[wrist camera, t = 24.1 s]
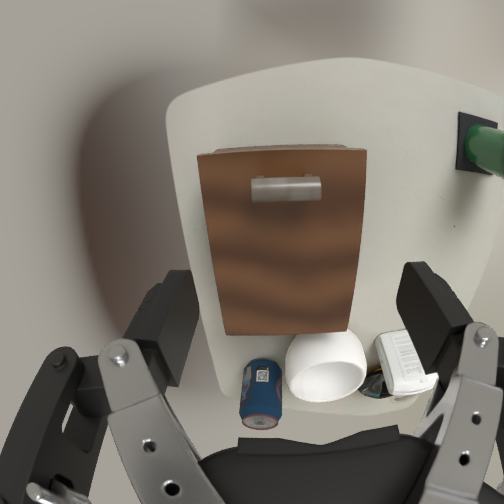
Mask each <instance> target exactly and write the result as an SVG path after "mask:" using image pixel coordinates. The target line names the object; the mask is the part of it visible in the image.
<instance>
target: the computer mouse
mask: <svg viewBox="0 0 504 504" xmlns="http://www.w3.org/2000/svg"><path fill="white" fill-rule="evenodd" d="M358 390H359V391H360V392H361V393H362V394H364V395H365V396H369V397H372V398H376V399H382V398H386V397H390V396H393V395H391V394H390V393H389V391H388V389H387V385H386V381H385V378H384V374H383V371H382V368H380V369H377V370H374V371H373V372H370V373H368V374H366V377H365V379H364V382H363V384H362V385H361V386H360V387H359V388H358Z"/></svg>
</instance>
